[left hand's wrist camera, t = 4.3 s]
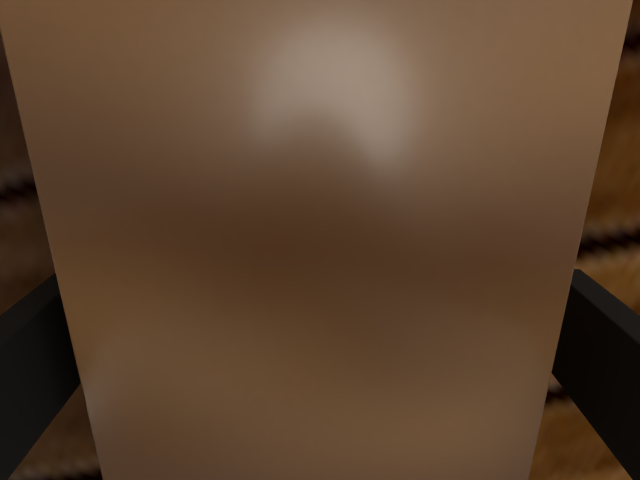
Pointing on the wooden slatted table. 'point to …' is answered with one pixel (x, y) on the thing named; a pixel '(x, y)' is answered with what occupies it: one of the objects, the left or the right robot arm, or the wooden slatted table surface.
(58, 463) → the wooden slatted table surface
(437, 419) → the cabinet
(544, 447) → the wooden slatted table surface
